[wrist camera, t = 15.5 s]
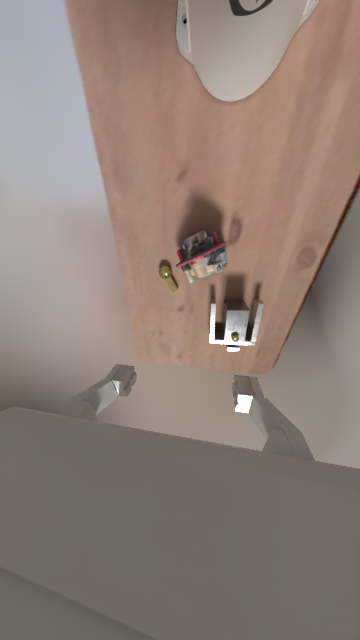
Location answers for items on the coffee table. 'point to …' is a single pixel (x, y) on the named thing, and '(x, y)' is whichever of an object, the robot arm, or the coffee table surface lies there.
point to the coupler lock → (235, 322)
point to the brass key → (168, 277)
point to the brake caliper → (202, 255)
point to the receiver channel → (252, 329)
